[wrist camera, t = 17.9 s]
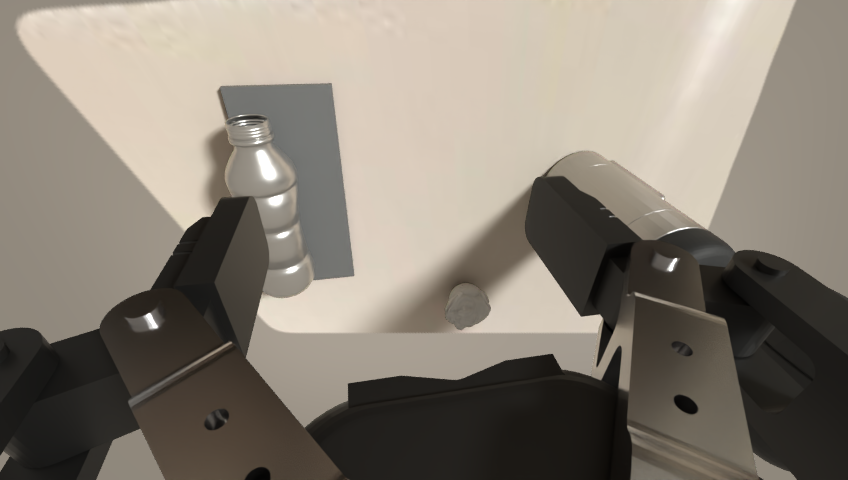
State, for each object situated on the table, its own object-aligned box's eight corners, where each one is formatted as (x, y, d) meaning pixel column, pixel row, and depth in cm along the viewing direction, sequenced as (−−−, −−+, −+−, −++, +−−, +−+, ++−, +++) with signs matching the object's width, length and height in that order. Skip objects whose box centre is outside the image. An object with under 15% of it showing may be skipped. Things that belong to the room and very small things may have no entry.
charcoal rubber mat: (331, 83, 36) (331, 84, 36) (354, 273, 50) (354, 276, 50) (221, 86, 35) (219, 87, 34) (275, 281, 49) (275, 284, 48)
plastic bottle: (262, 272, 47) (213, 111, 35) (318, 265, 48) (288, 107, 37) (255, 309, 42) (195, 135, 30) (318, 300, 43) (283, 130, 32)
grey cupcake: (445, 269, 53) (457, 304, 47) (489, 275, 55) (505, 310, 49) (431, 300, 56) (441, 337, 50) (473, 305, 58) (487, 341, 53)
